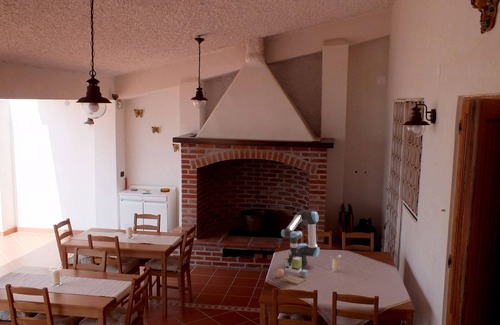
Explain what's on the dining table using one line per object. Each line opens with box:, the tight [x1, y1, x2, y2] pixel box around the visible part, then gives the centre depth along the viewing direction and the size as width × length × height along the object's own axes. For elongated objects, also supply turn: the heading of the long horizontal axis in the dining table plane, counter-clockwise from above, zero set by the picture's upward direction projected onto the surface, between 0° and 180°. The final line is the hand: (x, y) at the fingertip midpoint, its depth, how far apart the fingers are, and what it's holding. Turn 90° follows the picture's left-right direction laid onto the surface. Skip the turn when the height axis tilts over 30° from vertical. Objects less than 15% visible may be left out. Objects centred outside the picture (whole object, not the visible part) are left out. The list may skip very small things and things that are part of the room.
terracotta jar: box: [276, 268, 285, 280], centre depth 477 cm, size 7×7×8 cm
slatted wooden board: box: [280, 274, 307, 286], centre depth 468 cm, size 16×20×2 cm
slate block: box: [300, 269, 309, 278], centre depth 481 cm, size 6×6×6 cm
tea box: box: [284, 254, 303, 274], centre depth 466 cm, size 15×10×15 cm, turn 62°
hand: (293, 267), depth 467 cm, fingers closed on tea box, 11 cm apart
